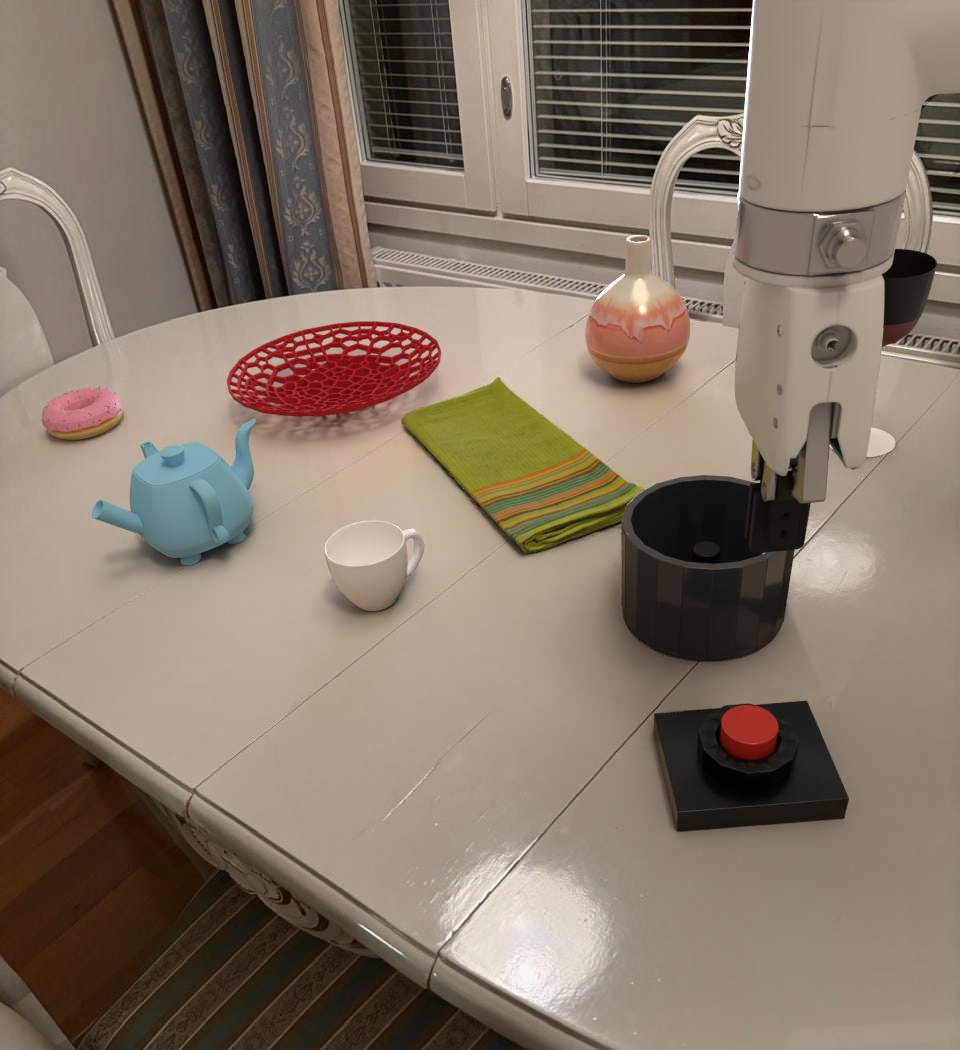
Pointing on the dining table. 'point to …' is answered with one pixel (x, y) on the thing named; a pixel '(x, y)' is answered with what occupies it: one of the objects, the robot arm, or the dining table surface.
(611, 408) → the dining table surface
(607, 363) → the vase
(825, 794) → the base unit
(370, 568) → the cup
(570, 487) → the dish towel
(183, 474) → the teapot
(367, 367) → the bowl
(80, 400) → the doughnut
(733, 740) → the button
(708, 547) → the blade
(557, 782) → the dining table surface
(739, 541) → the dark grey round bin
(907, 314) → the wineglass
